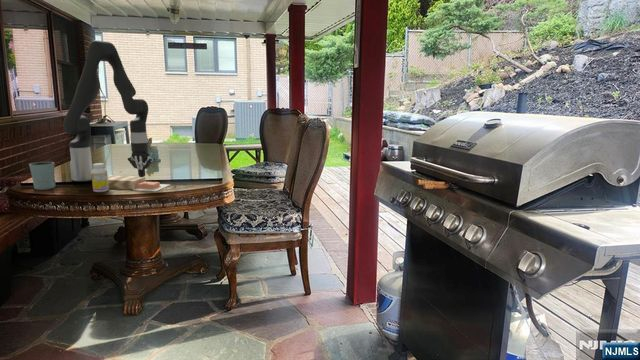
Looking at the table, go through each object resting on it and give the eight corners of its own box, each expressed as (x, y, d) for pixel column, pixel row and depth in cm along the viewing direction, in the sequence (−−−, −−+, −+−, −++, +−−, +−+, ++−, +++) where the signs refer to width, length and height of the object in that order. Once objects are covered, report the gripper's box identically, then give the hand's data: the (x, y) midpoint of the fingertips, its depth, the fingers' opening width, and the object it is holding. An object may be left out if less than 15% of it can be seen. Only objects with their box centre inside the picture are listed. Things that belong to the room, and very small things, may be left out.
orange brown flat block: (136, 188, 203) (135, 184, 203) (143, 185, 209) (142, 181, 208) (153, 188, 202) (153, 184, 201) (159, 186, 207) (159, 182, 207)
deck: (96, 187, 205) (95, 179, 204) (109, 182, 215) (108, 175, 214) (133, 189, 202) (133, 181, 201) (145, 184, 211) (145, 177, 211)
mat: (132, 190, 200) (132, 189, 200) (148, 184, 213) (148, 183, 213) (155, 191, 198) (155, 190, 198) (170, 185, 211) (170, 184, 211)
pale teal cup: (38, 191, 196) (35, 165, 193) (28, 188, 201) (24, 163, 199) (61, 187, 204) (58, 162, 202) (50, 184, 210) (47, 160, 207)
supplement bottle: (96, 189, 201) (94, 162, 198) (111, 189, 202) (108, 162, 199) (90, 192, 195) (87, 165, 192) (105, 192, 195) (102, 165, 192)
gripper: (121, 142, 199) (125, 177, 203) (147, 142, 197) (150, 179, 201) (131, 140, 206) (134, 174, 210) (156, 141, 204) (158, 176, 208)
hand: (142, 176), depth 205 cm, fingers closed
